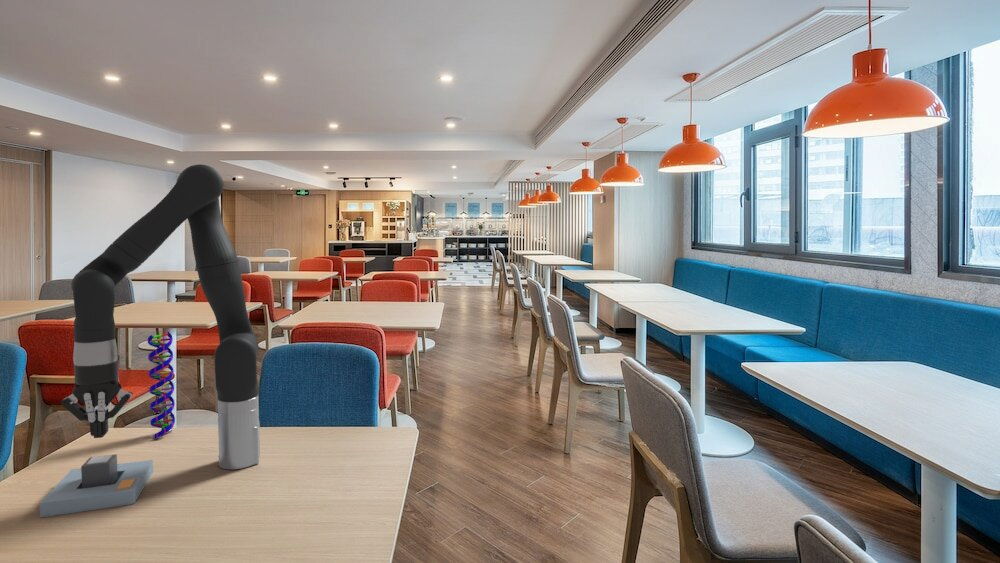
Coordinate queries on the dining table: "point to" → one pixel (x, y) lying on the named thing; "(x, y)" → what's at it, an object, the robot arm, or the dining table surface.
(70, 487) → the socket plate
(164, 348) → the dna model
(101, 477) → the plug
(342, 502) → the dining table surface
